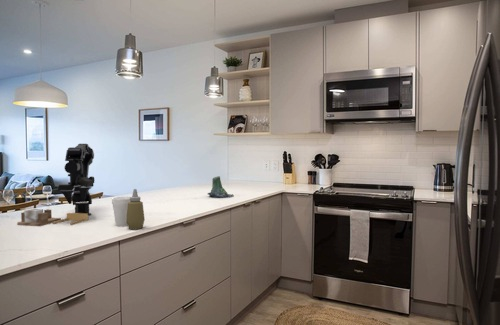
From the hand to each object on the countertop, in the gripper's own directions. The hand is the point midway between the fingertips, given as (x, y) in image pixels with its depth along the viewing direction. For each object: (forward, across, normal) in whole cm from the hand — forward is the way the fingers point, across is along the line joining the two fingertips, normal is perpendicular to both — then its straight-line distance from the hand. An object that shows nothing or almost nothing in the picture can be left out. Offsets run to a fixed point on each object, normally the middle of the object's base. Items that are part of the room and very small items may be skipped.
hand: (76, 202), depth 172 cm
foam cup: (+9, -4, -29) cm, 31 cm away
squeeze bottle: (+9, -9, -39) cm, 41 cm away
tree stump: (+10, +97, -46) cm, 107 cm away
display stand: (+9, -9, +14) cm, 19 cm away
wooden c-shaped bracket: (+9, -5, 0) cm, 10 cm away
